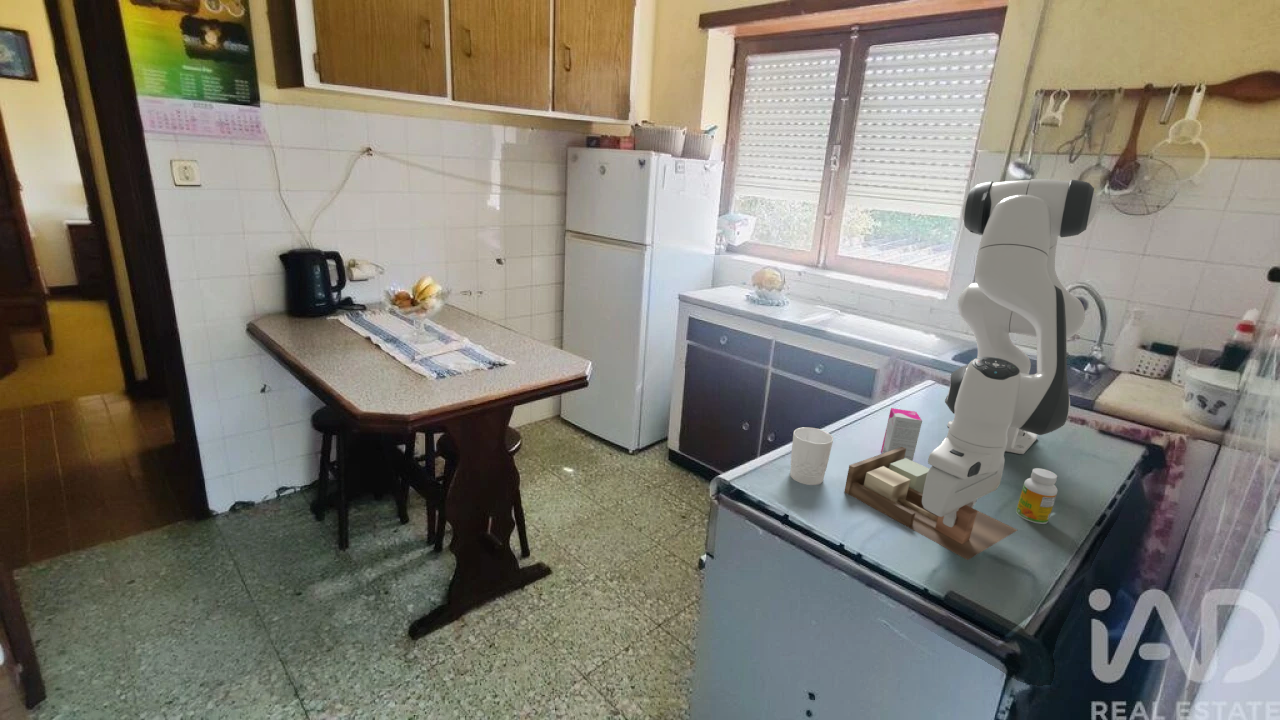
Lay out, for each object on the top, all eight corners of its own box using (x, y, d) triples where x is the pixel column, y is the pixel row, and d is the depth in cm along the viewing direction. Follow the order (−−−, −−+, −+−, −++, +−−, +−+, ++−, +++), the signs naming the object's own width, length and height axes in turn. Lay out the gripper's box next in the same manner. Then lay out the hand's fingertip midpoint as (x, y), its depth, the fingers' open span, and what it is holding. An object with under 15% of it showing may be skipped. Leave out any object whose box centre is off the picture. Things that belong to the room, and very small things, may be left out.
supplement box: (912, 467, 133) (923, 420, 129) (884, 463, 134) (894, 416, 130) (906, 456, 138) (916, 410, 135) (879, 452, 139) (889, 407, 136)
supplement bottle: (1009, 509, 118) (1021, 465, 115) (1034, 510, 118) (1047, 466, 115) (1028, 525, 112) (1041, 479, 109) (1054, 525, 113) (1069, 480, 110)
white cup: (804, 491, 119) (812, 446, 116) (779, 473, 126) (785, 430, 123) (833, 484, 123) (841, 440, 120) (807, 467, 130) (814, 425, 127)
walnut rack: (896, 473, 129) (901, 446, 127) (1017, 531, 110) (1026, 501, 108) (843, 493, 119) (849, 465, 117) (967, 562, 100) (976, 529, 98)
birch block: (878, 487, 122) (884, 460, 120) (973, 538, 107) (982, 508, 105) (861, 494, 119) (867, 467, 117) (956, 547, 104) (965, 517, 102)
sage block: (901, 479, 126) (905, 457, 125) (927, 492, 121) (932, 470, 120) (885, 485, 123) (890, 463, 121) (912, 498, 118) (917, 476, 117)
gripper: (984, 433, 110) (967, 498, 114) (923, 456, 99) (906, 528, 103) (1021, 446, 105) (1001, 514, 109) (960, 473, 94) (941, 547, 98)
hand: (955, 521), depth 106 cm, fingers closed on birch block, 2 cm apart
